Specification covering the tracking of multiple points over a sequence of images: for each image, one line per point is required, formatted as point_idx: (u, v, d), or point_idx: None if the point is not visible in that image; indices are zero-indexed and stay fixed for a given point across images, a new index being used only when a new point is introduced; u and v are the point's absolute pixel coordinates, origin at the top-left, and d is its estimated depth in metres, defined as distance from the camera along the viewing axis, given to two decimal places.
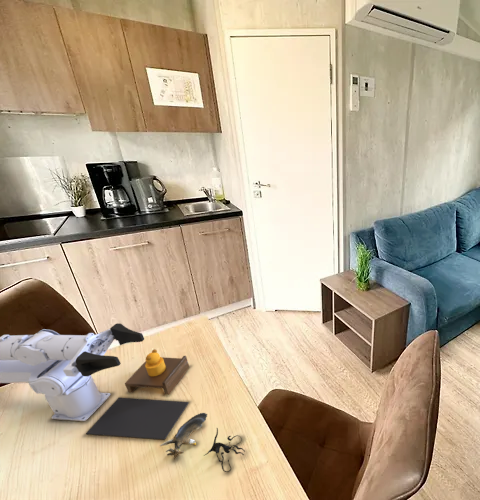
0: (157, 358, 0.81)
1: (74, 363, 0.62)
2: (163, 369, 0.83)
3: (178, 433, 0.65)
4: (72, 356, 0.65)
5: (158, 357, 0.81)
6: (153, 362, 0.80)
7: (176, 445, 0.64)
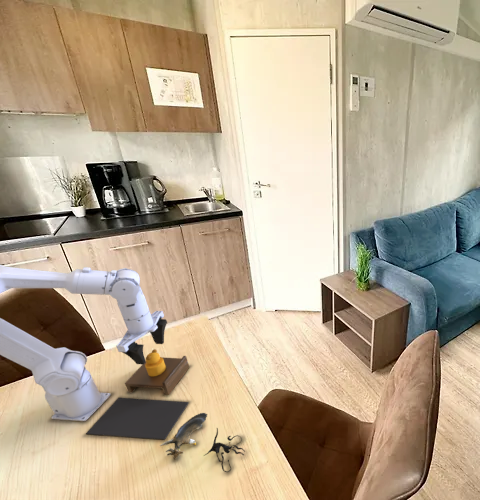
0: (157, 358, 0.81)
1: None
2: (163, 369, 0.83)
3: (178, 433, 0.65)
4: (131, 326, 0.73)
5: (158, 357, 0.81)
6: (153, 362, 0.80)
7: (176, 445, 0.64)
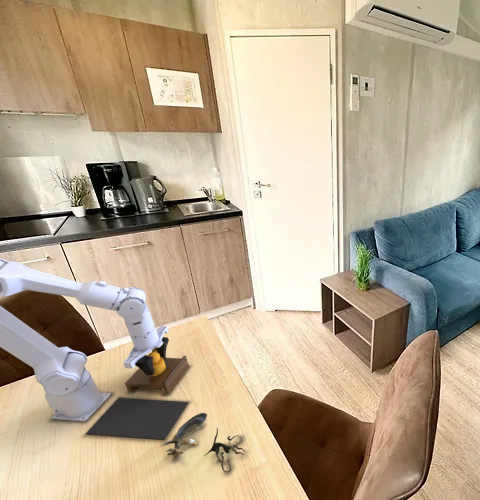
0: (157, 358, 0.81)
1: None
2: (163, 369, 0.83)
3: (178, 433, 0.65)
4: (137, 343, 0.75)
5: (158, 357, 0.81)
6: (153, 362, 0.80)
7: (176, 445, 0.64)
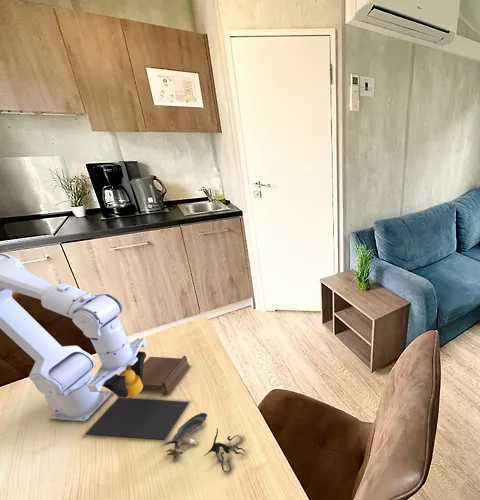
0: (131, 377, 0.68)
1: None
2: (139, 389, 0.70)
3: (178, 433, 0.65)
4: (105, 361, 0.63)
5: (133, 375, 0.69)
6: (126, 382, 0.68)
7: (176, 445, 0.64)
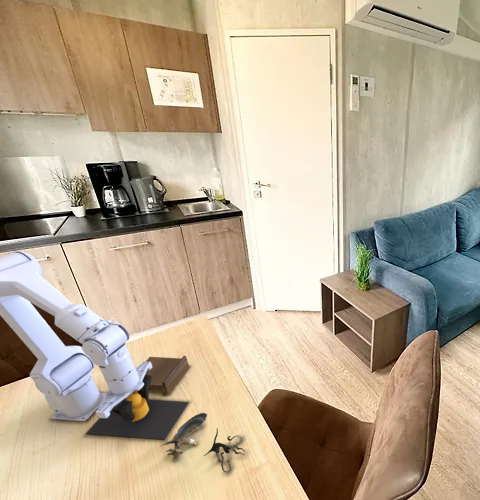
0: (138, 401, 0.70)
1: None
2: (145, 412, 0.72)
3: (178, 433, 0.65)
4: (113, 387, 0.65)
5: (139, 399, 0.71)
6: (133, 406, 0.70)
7: (176, 445, 0.64)
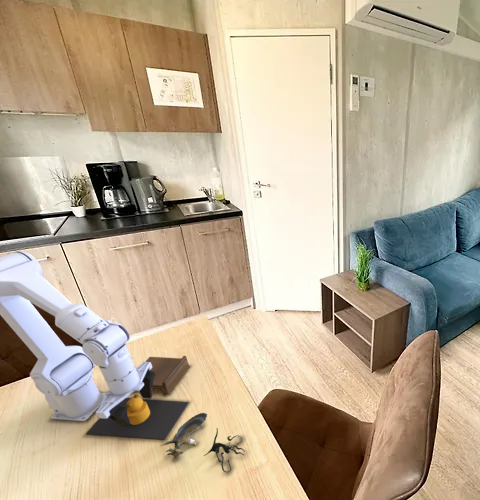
0: (139, 404, 0.71)
1: None
2: (147, 416, 0.73)
3: (178, 433, 0.65)
4: (113, 387, 0.65)
5: (140, 403, 0.71)
6: (135, 409, 0.70)
7: (176, 445, 0.64)
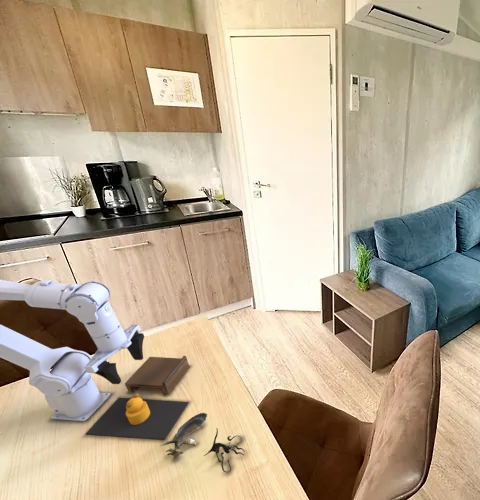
0: (139, 404, 0.71)
1: None
2: (147, 416, 0.73)
3: (178, 433, 0.65)
4: (100, 344, 0.67)
5: (140, 403, 0.71)
6: (135, 409, 0.70)
7: (176, 445, 0.64)
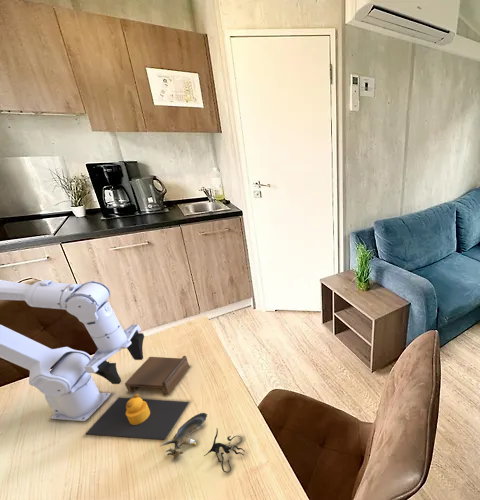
0: (139, 404, 0.71)
1: None
2: (147, 416, 0.73)
3: (178, 433, 0.65)
4: (100, 344, 0.67)
5: (140, 403, 0.71)
6: (135, 409, 0.70)
7: (176, 445, 0.64)
